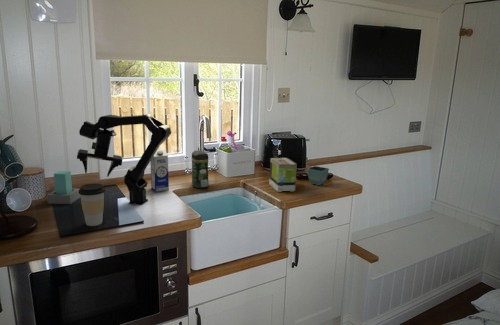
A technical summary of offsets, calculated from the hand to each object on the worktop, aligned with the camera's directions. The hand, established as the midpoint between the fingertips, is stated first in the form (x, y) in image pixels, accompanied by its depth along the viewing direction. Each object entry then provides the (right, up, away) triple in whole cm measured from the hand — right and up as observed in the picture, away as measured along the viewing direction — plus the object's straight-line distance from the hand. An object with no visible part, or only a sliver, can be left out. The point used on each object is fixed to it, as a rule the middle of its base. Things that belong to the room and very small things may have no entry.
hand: (96, 174), depth 170 cm
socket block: (-15, -11, 0) cm, 19 cm away
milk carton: (+24, -8, +19) cm, 32 cm away
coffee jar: (+43, -7, +27) cm, 51 cm away
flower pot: (+107, -7, +36) cm, 113 cm away
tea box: (+86, -8, +28) cm, 91 cm away
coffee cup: (+9, -18, -24) cm, 31 cm away
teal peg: (-15, -11, 0) cm, 19 cm away
